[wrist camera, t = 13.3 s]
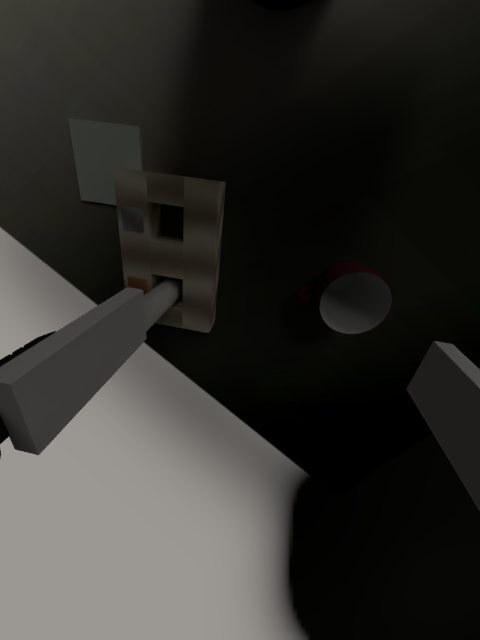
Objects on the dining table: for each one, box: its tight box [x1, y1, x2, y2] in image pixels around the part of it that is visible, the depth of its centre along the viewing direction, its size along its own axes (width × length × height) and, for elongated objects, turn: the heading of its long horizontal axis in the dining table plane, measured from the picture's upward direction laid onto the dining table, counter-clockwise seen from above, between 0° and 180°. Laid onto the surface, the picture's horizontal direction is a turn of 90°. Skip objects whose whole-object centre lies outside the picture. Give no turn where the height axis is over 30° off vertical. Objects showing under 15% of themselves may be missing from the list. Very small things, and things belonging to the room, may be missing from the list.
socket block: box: [113, 167, 226, 333], centre depth 39 cm, size 22×14×4 cm, turn 172°
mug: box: [296, 262, 392, 334], centre depth 35 cm, size 11×8×10 cm
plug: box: [144, 277, 183, 331], centre depth 37 cm, size 4×4×15 cm
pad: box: [68, 118, 143, 205], centre depth 36 cm, size 10×10×1 cm
